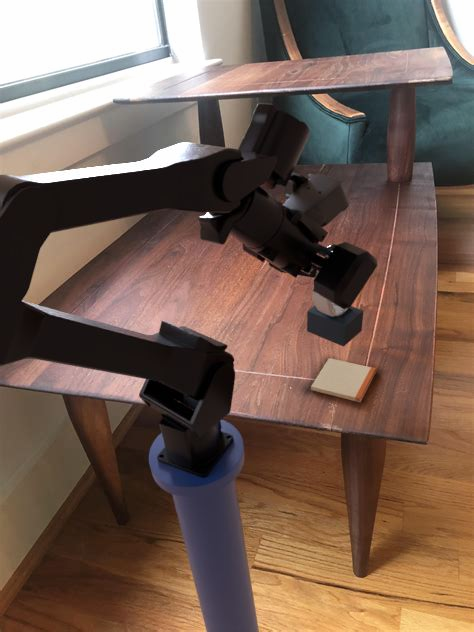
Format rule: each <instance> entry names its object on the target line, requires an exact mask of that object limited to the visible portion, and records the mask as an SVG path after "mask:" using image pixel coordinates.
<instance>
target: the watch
mask: <svg viewBox="0 0 474 632" xmlns="http://www.w3.org/2000/svg"><path fill="white" fill-rule="evenodd" d="M326 256H327V255H326ZM327 257H328V256H327ZM318 273H319V272H318V271H317V273H316V276H317V274H318ZM316 276H315V277H316ZM313 289H314V283H313V285H312V292H311V297H312V301H313V304H314V305H313V306H312V307H311V308H310V309H308V310H307V315H306V332H307V333H310V334H312V335H314V336H317V337H319V338H321V339H325V340H327V341H329V342H332V343H334V344H336V345H338V346H341V347H343V348H344V347H346V345H347V344H349V343H350V342H351V341H352V340H354V338H355V337H356V336H358V335H359V334H360V333H361V332H363V323H364V322H363V321H364V310H363V309H361V308H359V307H355V306H353V305H352V306H351V307H349V308H347V309H342V308H341V307H339V306H337V305H335V304H334V303H332V302H330V301H329V300H327V299H325V298H324V297H322V296H321V295H319V294H318V293H316V292H314V291H313Z"/></svg>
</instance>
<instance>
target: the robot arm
mask: <svg viewBox="0 0 474 632" xmlns="http://www.w3.org/2000/svg"><path fill="white" fill-rule="evenodd" d="M310 135H311V130H310V128H309V126H308V124H307V123H306V122H304V121H302V120H299V118H297V117H295V116H294V115H292V114H289V113H288V112H285V111H283V110H281V109H279V108H278V107H277V106H276V105H275V104H274V103H263V102H259V103H257V105H256V106H255V109H254V111H253V113H252V115H251V121H250V123H249V125H248V127H247V129H246V131H245V134H244V135H243V138H242V139H241V142H240V144H239V145H238V148H232V147H225V146H218V145H212V144H211V145H209V144H203V143H195V142H190V141H189V142H188V141H183V142H179V143H177V144H174V145H171V146H168V147H165V148H162V149H160V150H157V151H156V152H155V153H153V154H152V155H151V156H150V157H149V158H145V159H143V160H140V161H136V162H128V163H118V164H110V165H103V166H101V165H100V166H94V167H86V168H85V167H84V168H76V169H70V170H69V169H68V170H60V171H51V172H43V173H42V172H41V173H35V174H27V175H11V174H0V367H3V366H6V365H10V364H14V363H17V362H20V361H23V360H31V359H32V360H33V359H34V360H38V361H45V362H49V363H55V364H60V365H66V366H70V367H71V366H72V367H78V368H82V369H88V370H93V371H100V372H105V373H110V374H116V375H122V376H127V377H133V378H137V379H144V383H143V384H142V386H141V388H140V391H139V393H138V397H139V398H140V399H141V401H142V402H143V403H144V404H145V406H148V407H149V408H153V409H154V410H156V411H157V412H158V413H160V414H161V420H160V421H159V422H158V425H159V428H160V434H161V433H162V437H163V441H164V445H165V447H164V449H163V450H162V451H161V452H160V453H159V455H158V456H157V459H158V461H159V462H161V463H163V464H166V465H169V466H171V467H174V468H177V469H179V470H182V471H185V472H187V473H190V474H193V475H196V476H198V477H201V478H205V477H207V476H208V475H209V473H210V472H211V471H212V469H213V468H214V466H215V465H216V464H217V462H218V461H219V460H220V458H221V457H222V455H223V454H224V453H225V451H226V450H227V448H228V447H229V446H230V444H231V443H232V442H233V436H232V435H231V434H228V433H225V432H222V431H221V428H222V427H221V421H220V420H224V418H225V417H226V416H228V415H229V414H230V413H231V410H232V403H233V395H234V389H235V381H236V370H235V363H234V362H235V357H234V355H233V354H232V353H230V352H228V351H226V350H227V349H228V344H226V343H224V342H222V341H220V340H217V339H214V338H212V337H210V336H208V335H205V334H203V333H201V332H198V331H197V330H195V329H193V328H189V327H187V326H185V325H182V326H177V325H174V324H172V323H171V322H168V321H167V320H166V321H165V320H164V319H162V320H161V322H160V326H159V329H158V332H156V333H154V334H146V333H142V332H138V331H135V330H131V329H127V328H124V327H120V326H116V325H113V324H109V323H105V322H101V321H98V320H94V319H90V318H88V317H83V316H79V315H76V314H72V313H69V312H65V311H61V310H57V309H53V308H50V307H46V306H43V305H39V304H36V303H32V302H28V301H26V300H24V299H25V297H26V296H27V294H28V291H29V290H30V286H31V283H32V279H33V275H34V272H35V269H36V265H37V261H38V259H39V254H40V251H41V248H42V246H43V245H44V243H46V241H47V239H48V238H49V236H50V235H51V234H53V233H57V232H62V231H67V230H72V229H76V228H83V227H87V226H92V225H96V224H102V223H107V222H112V221H116V220H117V221H118V220H123V219H126V218H132V217H136V216H141V215H146V214H152V213H157V212H161V211H162V212H163V211H184V212H193V213H205V215H200V216H199V217H198V222H199V237H200V240H201V241H202V242H207V243H212V244H216V245H221V246H222V245H225V244H226V243H227V240H228V238H229V236H231V237H233V238H234V239H236V240H237V241H239V242H240V243H242V250H243V251H244V252H245V253H247V254H249V255H250V256H251V257H253V258H254V259H257V261H259V262H262V263H263V264H264V263H265V261H266V262H267V263H268V266H269V267H271V268H273V269H275V270H276V271H278V272H280V273H283V274H288V275H289V276H292V277H293V278H295V279H297V278H298V276H300V277H308V278H313V284H314V289H313V288H312V292H313V291H314V292H316V293H318V294H319V295H321V296H322V297H324V298H325V299H327V300H329V301H330V302H332V303H334V304H335V305H337V306H339V307H341V308H342V309H347V308H349V307H351V306H353V304H354V302H355V301H356V300H357V298H358V296H359V295H360V293H361V292H362V290H363V288H364V287H365V286H366V284H367V283H368V281H369V280H370V278H371V276H372V275H373V273H374V272H375V270H376V269H377V268H378V259H377V258H376V257H375V256H374V255H373V254H371V253H370V252H369V251H368V250H366V249H363V248H361V247H359V246H356V245H354V244H352V243H349V242H347V241H343V242H341V243H338V244H335V243H333V244H330V245H329V246H325V245H322V244H321V243H323V242H324V240H325V239H326V238H327V236H328V234H329V232H328V231H327V230H326V229H325V228H324V227H326V226H328V224H330V223H331V222H332V221H334V219H335V218H337V216H339V215H340V214H341V213H342V212H345V211H346V210H347V209H348V208H349V207H350V201H349V198H348V197H347V193H346V192H345V189H344V187H343V184H342V181H341V180H340V179H338V178H334V177H332V176H328V175H325V174H321V173H317V174H313V173H309V174H307V177H306V176H304V175H303V174H300V173H297V172H294V171H295V168H296V167H297V164H298V161H299V159H300V157H301V155H302V154H303V151H304V149H305V146H306V144H307V142H308V140H309V137H310ZM276 186H282V187H283V190H284V191H283V192H284V197H285V201H284V203H282V202H280V201H278V200H277V199H276V198H275V197H274V196H272V195H271V194H270V193H269V192H267V191H266V190H265V189H267V190H274V189H275V188H276ZM327 256H328V257H327ZM317 271H318V272H319V273H318V274H317V276H316V273H317ZM315 276H316V277H315ZM228 438H230V439H228ZM162 457H163V458H162ZM204 472H205V473H204Z"/></svg>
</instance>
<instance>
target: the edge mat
mask: <svg viewBox="0 0 474 632" xmlns="http://www.w3.org/2000/svg"><path fill="white" fill-rule="evenodd" d="M376 373H377V368H376V367H373V366H367V365H362V364H358V363H354V362H348V361H345V360H340V359H335V358H331V357H329V358H328V359H327V361H326V362H325V363H324V366H323V367H322V368H321V370H320V372H319V373H318V375H317V376H316V378H315V379H314V381H313V383H312V384H311V386H310V390H311V391H314V392H317V393H322V394H324V395H329V396H333V397H337V398H341V399H344V400H348V401H349V400H350V401H352V402H357V403H361V402H362V400H363V398H364V397H365V395H366V393H367V391H368V389H369V387H370V385H371V383H372V381H373V379H374V377H375V375H376Z"/></svg>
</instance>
